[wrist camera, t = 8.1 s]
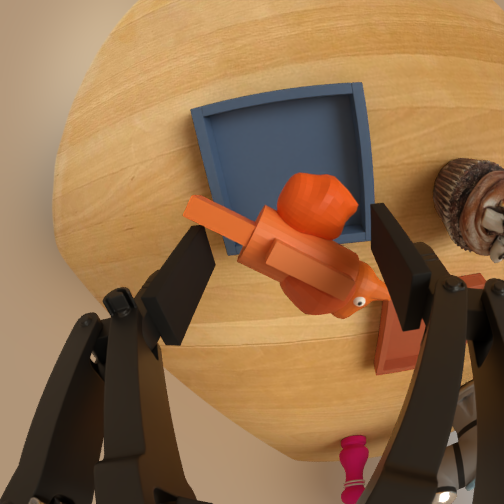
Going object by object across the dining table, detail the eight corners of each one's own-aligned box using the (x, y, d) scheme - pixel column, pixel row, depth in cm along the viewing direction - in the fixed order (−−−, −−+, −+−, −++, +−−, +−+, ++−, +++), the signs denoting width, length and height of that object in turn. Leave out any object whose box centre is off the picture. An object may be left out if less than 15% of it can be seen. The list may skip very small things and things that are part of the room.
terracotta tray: (480, 272, 28) (488, 283, 26) (455, 347, 35) (459, 358, 33) (384, 287, 31) (388, 300, 29) (373, 363, 38) (375, 375, 36)
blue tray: (356, 83, 21) (362, 82, 19) (369, 229, 28) (375, 240, 26) (199, 108, 24) (190, 109, 22) (232, 244, 31) (227, 255, 29)
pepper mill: (365, 431, 51) (367, 506, 34) (369, 440, 54) (371, 508, 37) (336, 438, 54) (334, 511, 37) (342, 446, 57) (341, 512, 40)
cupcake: (463, 131, 21) (523, 152, 12) (501, 193, 22) (551, 230, 14) (410, 192, 25) (454, 236, 17) (453, 246, 27) (493, 298, 18)
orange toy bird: (157, 259, 13) (365, 353, 14) (227, 112, 11) (436, 235, 12) (183, 239, 18) (341, 315, 19) (235, 132, 16) (394, 222, 17)
